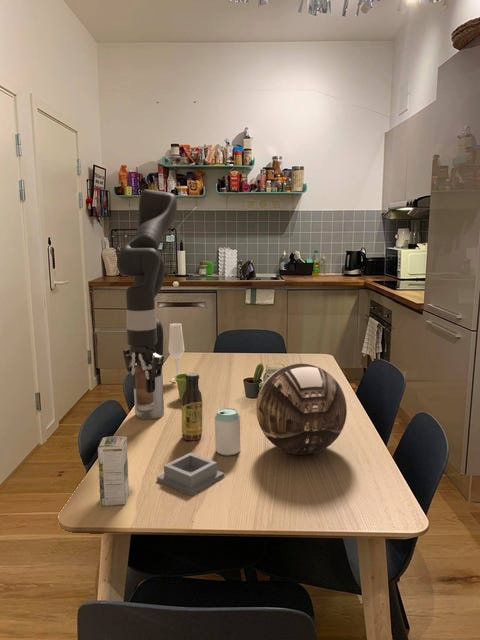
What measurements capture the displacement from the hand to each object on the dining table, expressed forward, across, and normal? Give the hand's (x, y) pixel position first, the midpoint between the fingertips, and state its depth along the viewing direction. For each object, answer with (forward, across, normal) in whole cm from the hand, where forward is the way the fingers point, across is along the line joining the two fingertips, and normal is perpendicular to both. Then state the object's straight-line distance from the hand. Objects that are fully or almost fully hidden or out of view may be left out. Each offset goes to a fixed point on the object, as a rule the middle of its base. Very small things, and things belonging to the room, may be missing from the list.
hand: (144, 389), depth 133 cm
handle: (+5, 0, 0) cm, 5 cm away
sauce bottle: (+21, +3, -20) cm, 29 cm away
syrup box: (+21, -8, +17) cm, 28 cm away
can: (+21, -12, -19) cm, 31 cm away
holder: (+21, -15, -1) cm, 26 cm away
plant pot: (+21, +30, -45) cm, 58 cm away
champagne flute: (+21, +50, -59) cm, 80 cm away
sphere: (+21, -28, -32) cm, 48 cm away
